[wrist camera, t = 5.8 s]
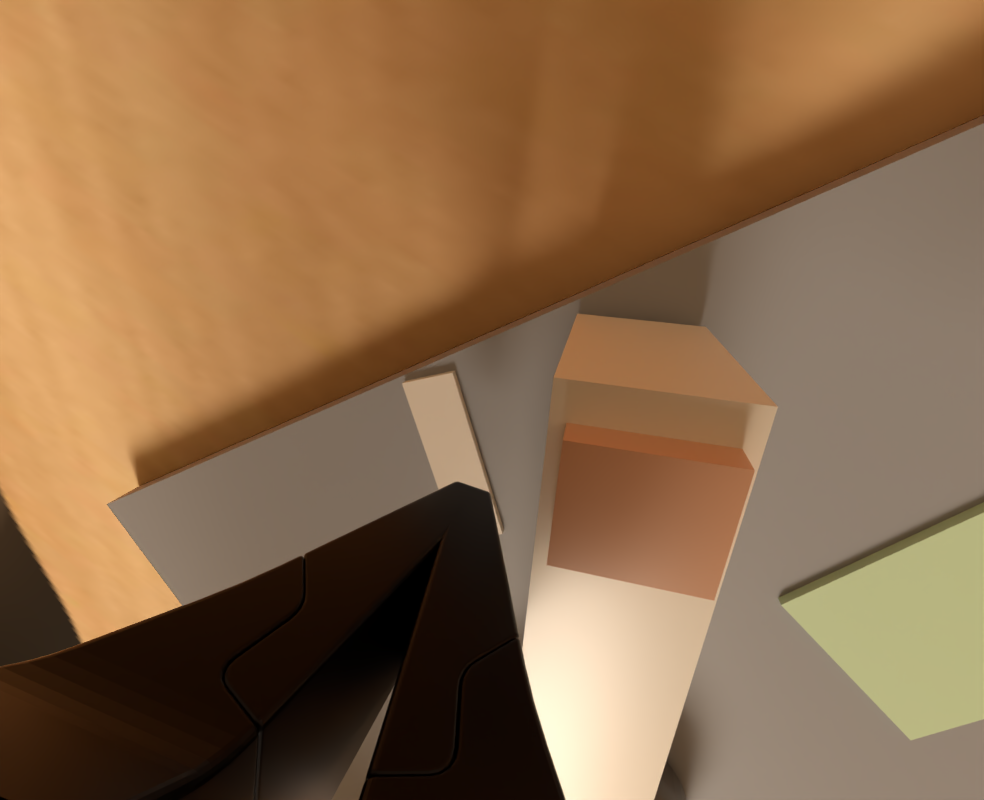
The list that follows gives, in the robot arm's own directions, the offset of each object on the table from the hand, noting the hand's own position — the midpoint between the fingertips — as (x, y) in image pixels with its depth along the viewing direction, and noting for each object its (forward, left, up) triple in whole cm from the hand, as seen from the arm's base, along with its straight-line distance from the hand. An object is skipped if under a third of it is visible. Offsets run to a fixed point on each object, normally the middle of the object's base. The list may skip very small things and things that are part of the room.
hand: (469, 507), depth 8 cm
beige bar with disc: (0, -6, -2) cm, 6 cm away
